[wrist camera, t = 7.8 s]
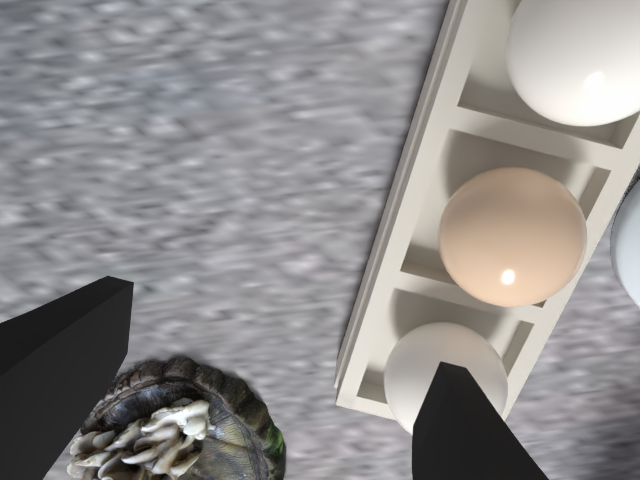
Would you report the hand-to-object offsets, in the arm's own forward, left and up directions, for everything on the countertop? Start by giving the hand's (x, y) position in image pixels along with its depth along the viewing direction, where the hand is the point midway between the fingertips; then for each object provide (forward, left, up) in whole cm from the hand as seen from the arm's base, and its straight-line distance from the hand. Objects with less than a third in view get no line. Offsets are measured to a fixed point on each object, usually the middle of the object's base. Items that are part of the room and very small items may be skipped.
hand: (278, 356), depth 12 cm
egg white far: (-6, +4, -8) cm, 11 cm away
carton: (-6, -2, -10) cm, 12 cm away
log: (+4, +15, -10) cm, 19 cm away
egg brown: (-6, -2, -8) cm, 10 cm away
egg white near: (-6, -8, -8) cm, 13 cm away
